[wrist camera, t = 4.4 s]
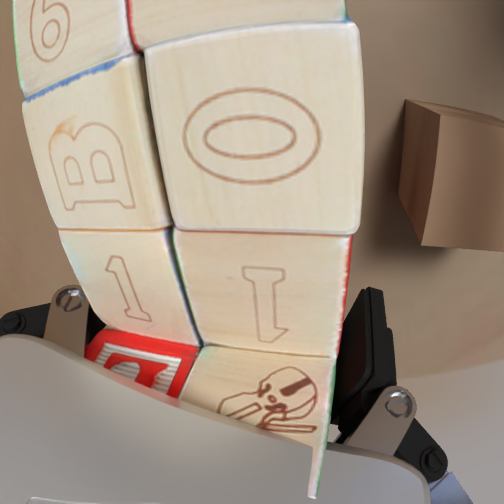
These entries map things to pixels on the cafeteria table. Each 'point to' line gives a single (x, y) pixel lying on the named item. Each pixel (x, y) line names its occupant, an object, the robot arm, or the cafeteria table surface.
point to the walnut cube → (453, 176)
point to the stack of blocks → (205, 191)
